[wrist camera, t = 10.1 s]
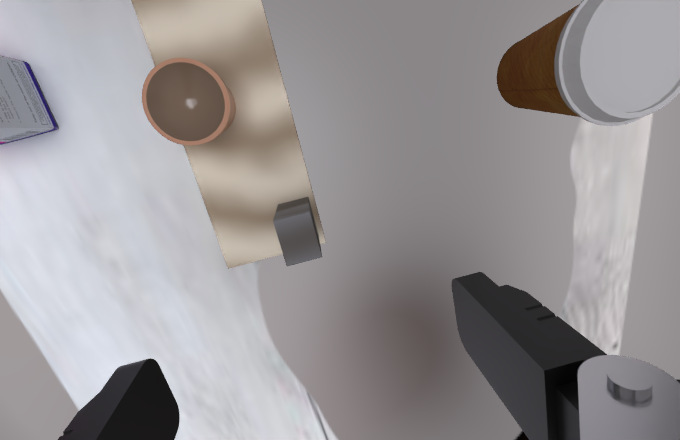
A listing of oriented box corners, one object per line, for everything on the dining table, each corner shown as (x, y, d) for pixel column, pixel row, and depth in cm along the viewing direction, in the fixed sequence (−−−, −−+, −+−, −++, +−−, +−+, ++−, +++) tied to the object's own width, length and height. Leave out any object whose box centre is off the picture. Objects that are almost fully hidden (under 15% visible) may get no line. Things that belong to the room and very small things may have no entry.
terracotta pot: (159, 78, 30) (127, 68, 24) (229, 61, 30) (212, 48, 25) (184, 148, 31) (160, 154, 26) (250, 132, 32) (239, 134, 26)
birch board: (136, 4, 29) (87, -32, 22) (255, -24, 29) (241, -67, 23) (230, 264, 36) (213, 297, 29) (325, 239, 36) (330, 266, 29)
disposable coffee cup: (578, 16, 33) (726, -40, 22) (568, 121, 36) (695, 120, 24) (481, 22, 32) (581, -34, 21) (478, 128, 35) (565, 131, 23)
